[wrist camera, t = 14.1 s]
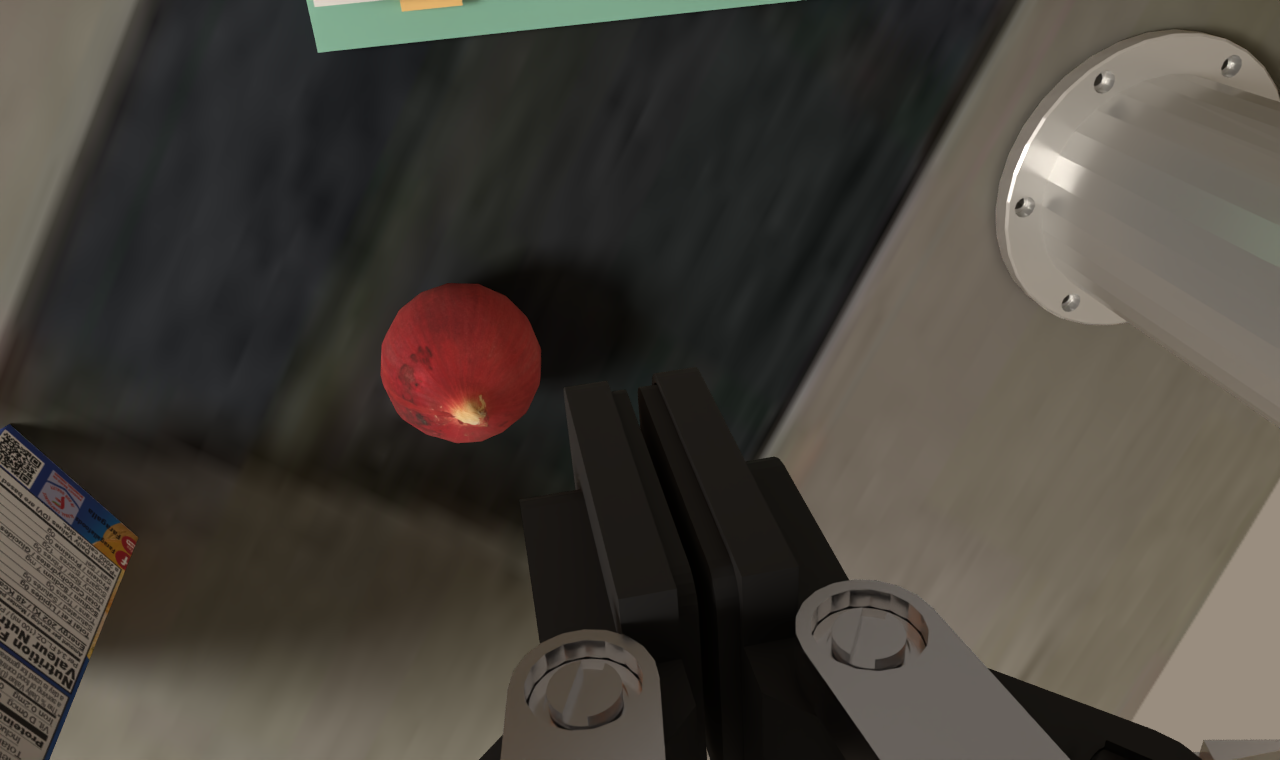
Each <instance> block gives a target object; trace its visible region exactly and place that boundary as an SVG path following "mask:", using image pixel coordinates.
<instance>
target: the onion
mask: <svg viewBox="0 0 1280 760" xmlns="http://www.w3.org/2000/svg"><path fill="white" fill-rule="evenodd" d="M540 377H541V348H540V346H539V343H538V341H537V338H536V336H535V333H534V331H533V329H532V326H531V324H530V322H529V320H528V318H527V316H526V315H525V314H524V313H523V312H522V311H521V310H520V309H519V308H518V307H517V306H516V305H515V304H514V303H513V302H512V301H511V300H510V299H509V298H508V297H507V296H505V295H502V294H500V293H498V292H496V291H493V290H491V289H489V288H487V287H484V286H482V285H480V284H456V283H447V284H445V285H442V286H439V287H436V288H433V289H430V290H427V291H424V292H421V293H420V294H419V295H417V296H416V297H415V298H414V299H412V300H411V301H410V302H409V303H407V304H406V305H405V306H404V307H402V308H401V309H400V310H399V312H398V313H397V315H396V317H395V319H394V321H393V323H392V325H391V326H390V328H389V330H388V332H387V334H386V336H385V338H384V341H383V343H382V354H381V378H382V382H383V385H384V387H385V389H386V391H387V393H388V395H389V397H390V399H391V401H392V403H393V405H394V407H395V409H396V411H397V413H398V414H399V415H400V416H401V418H402V419H403V420H405V421H406V422H408V423H409V424H411V425H412V426H414V427H416V428H417V429H419V430H420V431H422V432H423V433H425V434H427V435H430V436H434V437H438V438H442V439H445V440H448V441H451V442H454V443H465V442H480V441H483V440H486V439H488V438H490V437H492V436H495V435H497V434H499V433H502V432H503V431H505V430H506V429H507V428H508V427H509V426H511V425H512V424H513V423H514V422H515V421H517V420H518V419H519V418H520V417H522V416H523V415H524V414H525V413H526V412H527V410H528V408H529V406H530V404H531V402H532V400H533V397H534V395H535V393H536V391H537V389H538V387H539V384H540Z"/></svg>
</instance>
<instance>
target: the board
mask: <svg viewBox="0 0 1280 760" xmlns="http://www.w3.org/2000/svg"><path fill="white" fill-rule="evenodd" d="M790 1H799V0H307V5H308V9H309V14H310V18H311V23H312V27H313V32H314V36H315V41H316V46H317V50H318V53H319V52H328V51H337V50H347V49H356V48H365V47H374V46H384V45H393V44H402V43H411V42H421V41H430V40H439V39H448V38H457V37H467V36H476V35H485V34H494V33H504V32H513V31H522V30H531V29H541V28H550V27H559V26H568V25H578V24H587V23H596V22H605V21H615V20H624V19H633V18H642V17H652V16H661V15H670V14H679V13H689V12H698V11H707V10H716V9H726V8H735V7H744V6H753V5H762V4H772V3H781V2H790Z"/></svg>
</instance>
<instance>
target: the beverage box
mask: <svg viewBox="0 0 1280 760" xmlns="http://www.w3.org/2000/svg"><path fill="white" fill-rule="evenodd" d="M137 540H138V537H137V536H136V535H135V534H134V533H133V532H132V531H131V530H129V529H128V528H127V527H126V526H125V525H124V524H123V523H122V522H120V521H119V520H118V519H117V518H116V517H115V516H114V515H112V514H111V513H110V512H109V511H108V510H107V509H106V508H104V507H103V506H102V505H101V504H100V503H99V502H98V501H97V500H95V499H94V498H93V497H92V496H91V495H90V494H89V493H87V492H86V491H85V490H84V489H83V488H82V487H81V486H80V485H78V484H77V483H76V482H75V481H74V480H73V479H72V478H70V477H69V476H68V475H67V474H66V473H65V472H64V471H62V470H61V469H60V468H59V467H58V466H57V465H56V464H55V463H53V462H52V461H51V460H50V459H49V458H48V457H47V456H45V455H44V454H43V453H42V452H41V451H40V450H39V449H37V448H36V447H35V446H34V445H33V444H32V443H31V442H30V441H28V440H27V439H26V438H25V437H24V436H23V435H22V434H20V433H19V432H18V431H17V430H16V429H15V428H14V427H12V426H11V425H10V424H9V425H7V426H5V427H4V428H2V429H1V430H0V760H49V759H50V756H51V754H52V752H53V749H54V747H55V744H56V742H57V739H58V737H59V734H60V732H61V729H62V727H63V724H64V722H65V719H66V717H67V714H68V712H69V709H70V707H71V704H72V702H73V699H74V697H75V694H76V692H77V689H78V687H79V684H80V682H81V679H82V677H83V674H84V672H85V669H86V667H87V664H88V662H89V659H90V657H91V654H92V652H93V649H94V647H95V644H96V642H97V639H98V637H99V634H100V632H101V630H102V627H103V625H104V622H105V620H106V617H107V615H108V612H109V610H110V607H111V605H112V602H113V600H114V597H115V595H116V592H117V590H118V587H119V585H120V582H121V580H122V577H123V575H124V572H125V570H126V567H127V565H128V562H129V560H130V557H131V555H132V552H133V550H134V547H135V545H136V542H137Z"/></svg>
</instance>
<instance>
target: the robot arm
mask: <svg viewBox="0 0 1280 760" xmlns="http://www.w3.org/2000/svg"><path fill="white" fill-rule="evenodd" d="M995 210H996V236H997V240H998V244H999V248H1000V252H1001V256H1002V260H1003V261H1004V263H1005V265H1006V267H1007V269H1008V271H1009V273H1010V275H1011V277H1012V279H1013V280H1014V281H1015V283H1016V284H1017V285H1018V286H1019V287H1020V288H1021V289H1022V290H1023V292H1024V293H1025V294H1026V295H1027V296H1028V297H1030V298H1031V299H1032V300H1034V301H1035V302H1036V303H1038V304H1039V305H1040V306H1041V307H1042V308H1044V309H1045V310H1047V311H1049V312H1050V313H1052V314H1054V315H1056V316H1058V317H1060V318H1062V319H1065V320H1069V321H1073V322H1077V323H1081V324H1085V325H1116V324H1122V323H1130V324H1131V325H1133V326H1134V327H1135V328H1137V329H1138V330H1140V331H1141V332H1143V333H1144V334H1145V335H1147V336H1148V337H1150V338H1151V339H1153V340H1154V341H1155V342H1157V343H1158V344H1160V345H1161V346H1163V347H1164V348H1165V349H1167V350H1168V351H1170V352H1171V353H1173V354H1174V355H1175V356H1177V357H1178V358H1180V359H1181V360H1183V361H1184V362H1185V363H1187V364H1188V365H1190V366H1191V367H1193V368H1194V369H1195V370H1197V371H1198V372H1200V373H1201V374H1203V375H1204V376H1205V377H1207V378H1208V379H1210V380H1211V381H1213V382H1214V383H1215V384H1217V385H1218V386H1220V387H1221V388H1223V389H1224V390H1225V391H1227V392H1228V393H1230V394H1231V395H1233V396H1234V397H1235V398H1237V399H1238V400H1240V401H1241V402H1243V403H1244V404H1245V405H1247V406H1248V407H1250V408H1251V409H1253V410H1254V411H1255V412H1257V413H1258V414H1260V415H1261V416H1263V417H1264V418H1265V419H1267V420H1268V421H1270V422H1271V423H1273V424H1274V425H1275V426H1277V427H1278V428H1280V96H1279V93H1278V89H1277V87H1276V85H1275V83H1274V82H1273V80H1272V78H1271V77H1270V75H1269V73H1268V71H1267V70H1266V68H1265V67H1264V66H1263V65H1262V64H1261V63H1260V62H1259V61H1258V60H1257V59H1256V58H1255V57H1254V56H1253V55H1252V54H1251V53H1250V52H1249V51H1248V50H1246V49H1244V48H1242V47H1240V46H1239V45H1237V44H1235V43H1233V42H1231V41H1229V40H1227V39H1225V38H1221V37H1217V36H1214V35H1210V34H1207V33H1203V32H1197V31H1188V30H1179V29H1172V30H1163V31H1155V32H1147V33H1144V34H1141V35H1138V36H1135V37H1131V38H1128V39H1125V40H1122V41H1119V42H1117V43H1115V44H1113V45H1111V46H1110V47H1108V48H1106V49H1104V50H1102V51H1100V52H1098V53H1096V54H1095V55H1093V56H1091V57H1090V58H1088V59H1087V60H1086V61H1084V62H1083V63H1082V64H1080V65H1079V66H1078V67H1076V68H1075V69H1074V70H1072V71H1071V72H1070V73H1068V74H1067V75H1066V76H1065V77H1064V78H1063V79H1062V80H1061V81H1060V82H1059V83H1058V84H1057V85H1056V86H1055V87H1054V88H1053V89H1052V90H1051V91H1050V92H1049V93H1048V94H1047V95H1046V96H1045V97H1044V98H1043V99H1042V101H1041V102H1040V103H1039V105H1038V106H1037V108H1036V109H1035V110H1034V112H1033V113H1032V115H1031V116H1030V117H1029V119H1028V120H1027V121H1026V123H1025V124H1024V126H1023V128H1022V129H1021V131H1020V133H1019V135H1018V137H1017V139H1016V141H1015V143H1014V145H1013V147H1012V149H1011V151H1010V153H1009V155H1008V158H1007V161H1006V164H1005V167H1004V170H1003V173H1002V176H1001V179H1000V183H999V190H998V196H997V203H996V209H995ZM564 399H565V408H566V416H567V424H568V432H569V440H570V448H571V456H572V464H573V472H574V480H575V488H576V490H573V491H567V492H561V493H555V494H549V495H543V496H537V497H531V498H525V499H519V500H520V507H521V515H522V521H523V528H524V535H525V542H526V549H527V556H528V563H529V570H530V577H531V584H532V591H533V598H534V605H535V612H536V619H537V626H538V633H539V640H540V644H539V645H538V646H537V647H535V648H534V649H533V650H531V651H530V652H529V653H527V654H526V655H525V656H524V657H523V659H522V660H521V661H520V663H519V664H518V665H517V667H516V668H515V669H514V671H513V673H512V676H511V680H510V683H509V686H508V690H507V700H506V710H505V720H504V730H503V735H502V736H501V737H500V738H499V739H498V740H497V741H496V743H495V744H494V745H493V746H492V747H491V748H490V749H489V750H488V751H487V752H486V753H485V754H484V755H483V756H482V757H481V758H480V759H479V760H707V752H706V747H707V750H708V754H709V757H710V760H1280V740H1203V744H1202V747H1201V751H1200V752H1192V751H1191V750H1189V749H1188V748H1187V747H1185V746H1184V745H1183V744H1181V743H1180V742H1178V741H1176V740H1174V739H1172V738H1170V737H1167V736H1165V735H1163V734H1161V733H1159V732H1157V731H1155V730H1153V729H1150V728H1147V727H1144V726H1142V725H1139V724H1137V723H1134V722H1131V721H1129V720H1126V719H1123V718H1121V717H1118V716H1115V715H1112V714H1110V713H1107V712H1104V711H1102V710H1099V709H1096V708H1094V707H1091V706H1088V705H1086V704H1083V703H1080V702H1078V701H1075V700H1072V699H1070V698H1067V697H1064V696H1061V695H1059V694H1056V693H1053V692H1051V691H1048V690H1045V689H1043V688H1040V687H1037V686H1035V685H1032V684H1029V683H1027V682H1024V681H1021V680H1019V679H1016V678H1013V677H1010V676H1008V675H1005V674H1002V673H1000V672H997V671H994V670H992V669H989V668H987V667H986V666H985V665H984V664H983V663H982V662H981V660H980V659H979V658H978V657H977V656H976V655H975V654H974V653H973V652H972V650H971V649H970V648H969V647H968V646H967V645H966V644H965V643H964V642H963V641H962V639H961V638H960V637H959V636H958V635H957V634H956V633H955V632H954V631H953V629H952V628H951V627H950V626H949V625H948V624H947V623H946V622H945V621H944V620H943V618H942V617H941V616H940V615H939V614H938V613H937V612H936V611H935V610H934V608H933V607H931V606H930V605H929V604H928V603H927V602H925V601H924V600H923V599H922V598H921V597H919V596H918V595H917V594H915V593H912V592H910V591H908V590H906V589H904V588H902V587H900V586H898V585H894V584H890V583H885V582H881V581H877V580H849V579H848V577H847V576H846V574H845V572H844V570H843V569H842V567H841V565H840V563H839V561H838V560H837V558H836V556H835V554H834V553H833V551H832V549H831V547H830V546H829V544H828V542H827V540H826V539H825V537H824V535H823V533H822V531H821V530H820V528H819V526H818V524H817V523H816V521H815V519H814V517H813V516H812V514H811V512H810V510H809V509H808V507H807V505H806V503H805V501H804V500H803V498H802V496H801V494H800V493H799V491H798V489H797V487H796V486H795V484H794V482H793V480H792V479H791V477H790V475H789V473H788V471H787V470H786V468H785V466H784V465H783V463H782V462H781V461H780V459H779V458H777V457H770V458H764V459H758V460H752V461H746V462H745V460H744V458H743V456H742V454H741V452H740V450H739V448H738V446H737V444H736V442H735V440H734V438H733V436H732V434H731V433H730V431H729V429H728V427H727V425H726V423H725V421H724V419H723V417H722V415H721V413H720V411H719V409H718V407H717V405H716V403H715V401H714V399H713V397H712V395H711V393H710V391H709V389H708V387H707V385H706V383H705V381H704V379H703V378H702V376H701V374H700V372H699V370H698V369H697V367H694V368H687V369H681V370H674V371H668V372H661V373H655V374H653V376H652V385H651V386H645V387H639V388H638V404H639V416H640V427H639V424H638V421H637V419H636V416H635V413H634V410H633V407H632V405H631V402H630V399H629V396H628V394H627V391H626V390H619V391H613V392H611V390H610V387H609V384H608V382H607V381H603V382H596V383H590V384H583V385H577V386H570V387H564ZM640 428H641V430H640Z"/></svg>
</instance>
